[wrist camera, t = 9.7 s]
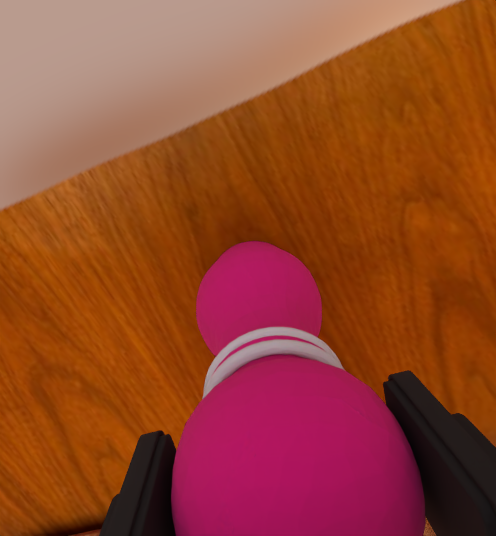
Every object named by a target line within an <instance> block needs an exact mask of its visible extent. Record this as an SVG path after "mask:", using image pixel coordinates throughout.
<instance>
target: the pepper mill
mask: <svg viewBox="0 0 496 536" xmlns="http://www.w3.org/2000/svg"><path fill="white" fill-rule="evenodd" d="M196 317H197V322H198V327H199V330H200V332H201V334H202V337H203V339H204V341H205V342H206V344H207V346H208V348H209V349H210V351H211V352H212V353H213V354H214V355H215V356H216V358H215V359H214V360H213V362H212V364H211V366H210V367H209V370H208V373H207V376H206V380H205V384H204V395H203V400H202V401H201V402H200V403H199V404H198V406H197V407H196V409H195V410H194V412H193V413H192V415H191V416H190V418H189V419H188V421H187V422H186V424H185V427H184V430H183V433H182V436H181V439H180V442H179V445H178V448H177V451H176V455H175V460H174V465H173V473H172V489H171V508H172V519H173V524H174V528H175V533H176V536H423V533H424V528H425V523H426V522H425V499H424V492H423V486H422V481H421V475H420V471H419V468H418V465H417V462H416V460H415V457H414V454H413V451H412V449H411V446H410V444H409V442H408V440H407V438H406V436H405V434H404V432H403V430H402V428H401V426H400V424H399V423H398V421H397V419H396V418H395V416H394V415H393V413H392V412H391V411H390V410H389V408H388V407H387V406H386V405H385V403H384V402H383V401H382V400H381V399H380V398H379V397H378V395H377V394H376V393H375V392H374V391H373V390H372V389H371V388H370V387H369V386H368V385H366V384H365V383H363V382H362V381H360V380H358V379H357V378H355V377H354V376H352V375H351V374H349V373H348V372H346V371H345V370H344V368H343V367H342V365H341V363H340V361H339V359H338V358H337V356H336V355H335V353H334V352H333V351H332V350H331V349H330V347H329V346H328V345H327V344H326V343H324V342H323V341H322V340H320V339H319V338H318V335H319V332H320V328H321V322H322V303H321V297H320V293H319V290H318V288H317V285H316V283H315V281H314V279H313V277H312V275H311V273H310V271H309V270H308V269H307V268H306V266H305V265H304V264H303V263H302V262H301V261H300V260H299V259H297V258H296V257H295V256H293V255H292V254H290V253H288V252H286V251H284V250H281V249H279V248H278V247H276V246H274V245H272V244H269V243H265V242H260V241H248V242H243V243H240V244H237V245H235V246H233V247H231V248H229V249H228V250H226V251H225V252H224V253H223V254H222V255H221V256H220V257H219V258H218V260H217V261H216V262H215V263H214V264H213V265H212V266H211V268H210V269H209V270H208V272H207V273H206V274H205V276H204V278H203V280H202V282H201V284H200V287H199V291H198V295H197V303H196Z"/></svg>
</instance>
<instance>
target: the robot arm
mask: <svg viewBox="0 0 496 536" xmlns="http://www.w3.org/2000/svg"><path fill="white" fill-rule="evenodd" d="M383 387H384V393H385V400H386V406H387V407H388V408H389V410H390V411H391V412H392V413H393V415H394V416H395V418H396V419H397V421H398V423H399V424H400V426H401V428H402V430H403V432H404V434H405V436H406V438H407V440H408V442H409V444H410V446H411V449H412V451H413V454H414V457H415V460H416V462H417V465H418V468H419V471H420V475H421V481H422V486H423V492H424V499H425V516H426V518H427V520H428V521H429V523H430V525H431V527H432V529H433V530H434V532H435V534H436V536H496V448H495V447H494V445H493V444H492V443H491V442H490V441H489V440H488V439H487V438H486V437H485V436H484V435H483V434H482V433H481V432H480V431H479V430H478V429H477V428H476V427H475V426H474V425H473V424H472V423H471V422H470V421H469V420H468V419H467V418H466V417H465V416H464V415H462V414H460V413H456V414H452V415H451V414H450V413H449V412H448V411H447V410H446V409H445V408H444V407H443V406H442V404H441V403H440V402H439V401H438V400H437V399H436V398H435V397H434V396H433V395H432V394H431V392H430V391H429V390H428V389H427V388H426V387H425V386H424V385H423V384H422V383H421V382H420V380H419V379H418V378H417V377H416V376H415V375H414V374H413V373H412V372H411V371H409V370H408V371H404V372H399V373H395V374H391V375H389V377H388V381H386V382H384V383H383ZM175 455H176V448H175V446H174V443H173V440H172V438H171V436H170V435H169V434H167V435H165V434H164V432H163V431H156V432H152V433H148V434H144V435H141V436H140V438H139V440H138V443H137V446H136V449H135V452H134V454H133V457H132V460H131V463H130V466H129V468H128V471H127V474H126V477H125V480H124V482H123V485H122V488H121V491H120V494H117V495H116V496H115V497H114V498H113V500H112V502H111V504H110V507H109V510H108V512H107V515H106V518H105V520H104V523H103V526H102V528H101V531H100V534H99V536H176V533H175V528H174V524H173V519H172V508H171V489H172V473H173V465H174V460H175Z"/></svg>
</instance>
